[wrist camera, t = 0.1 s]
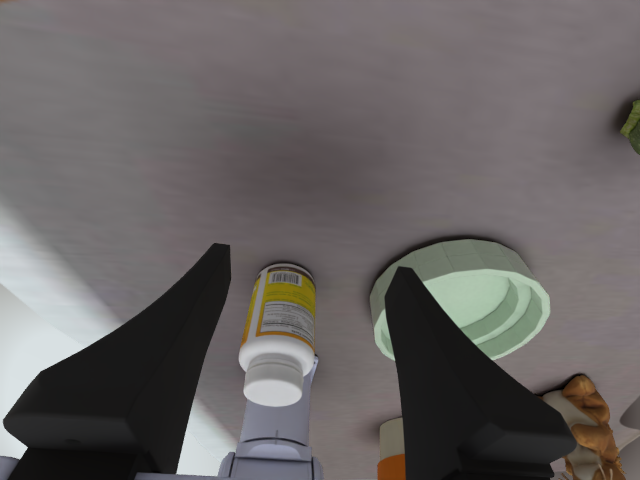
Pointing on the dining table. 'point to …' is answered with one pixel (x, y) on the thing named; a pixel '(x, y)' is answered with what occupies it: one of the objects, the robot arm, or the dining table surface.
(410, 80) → the dining table surface
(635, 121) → the vegetable
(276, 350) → the supplement bottle
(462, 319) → the bowl
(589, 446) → the stuffed squirrel
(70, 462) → the robot arm
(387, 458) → the reusable coffee cup
